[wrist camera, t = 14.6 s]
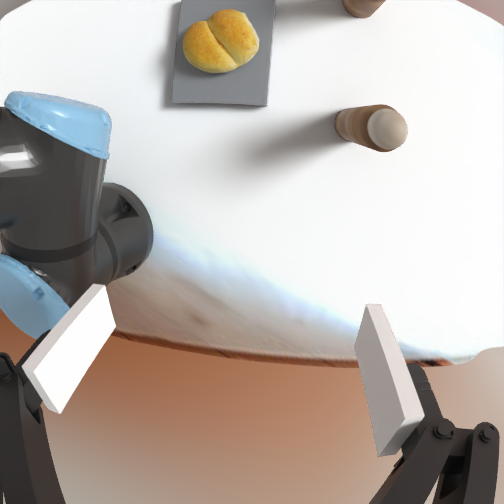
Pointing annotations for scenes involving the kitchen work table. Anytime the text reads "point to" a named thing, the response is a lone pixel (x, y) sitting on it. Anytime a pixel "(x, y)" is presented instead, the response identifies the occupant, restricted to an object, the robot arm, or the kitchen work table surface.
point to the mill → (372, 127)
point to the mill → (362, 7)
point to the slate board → (234, 82)
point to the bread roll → (221, 42)
